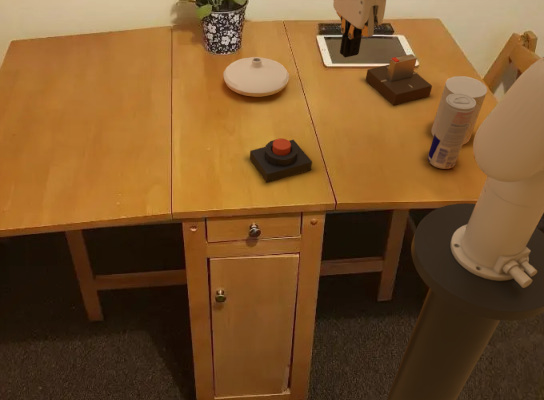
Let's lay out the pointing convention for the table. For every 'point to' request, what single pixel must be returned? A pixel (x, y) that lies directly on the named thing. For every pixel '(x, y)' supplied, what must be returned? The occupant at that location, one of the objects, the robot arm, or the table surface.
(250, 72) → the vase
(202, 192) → the table surface
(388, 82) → the plate
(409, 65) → the block
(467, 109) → the beverage can
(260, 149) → the box
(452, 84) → the cup
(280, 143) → the release button
